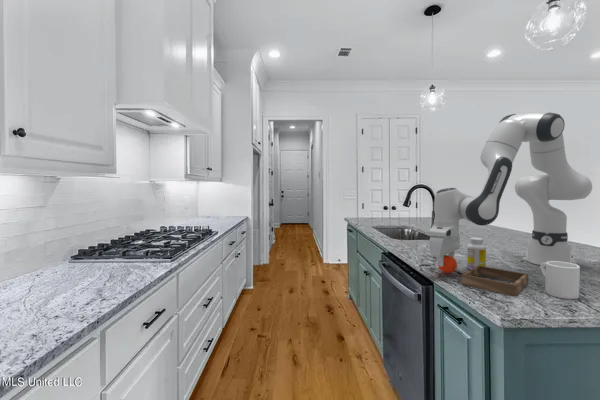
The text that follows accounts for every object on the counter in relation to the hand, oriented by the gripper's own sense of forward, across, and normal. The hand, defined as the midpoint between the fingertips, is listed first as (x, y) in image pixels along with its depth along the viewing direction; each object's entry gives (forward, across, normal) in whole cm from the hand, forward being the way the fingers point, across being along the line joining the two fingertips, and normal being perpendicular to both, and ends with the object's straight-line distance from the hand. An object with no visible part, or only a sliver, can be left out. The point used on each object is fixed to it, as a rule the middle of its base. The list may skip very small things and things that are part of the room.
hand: (445, 263), depth 119 cm
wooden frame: (+4, 0, +17) cm, 17 cm away
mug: (+4, -5, +33) cm, 34 cm away
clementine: (+4, 0, 0) cm, 4 cm away
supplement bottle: (+4, -16, +6) cm, 17 cm away
